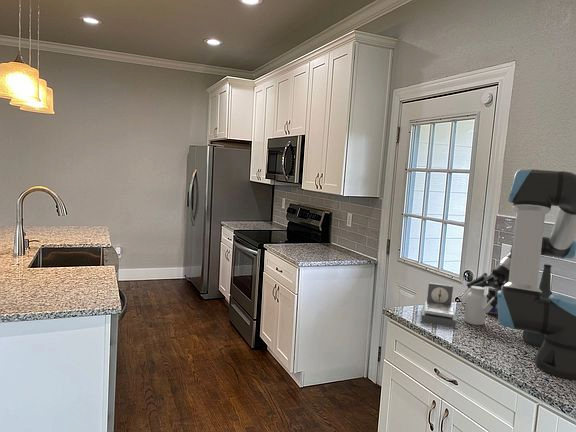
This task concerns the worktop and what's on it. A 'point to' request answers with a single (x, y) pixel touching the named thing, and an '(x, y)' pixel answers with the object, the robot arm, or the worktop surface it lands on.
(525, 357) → the worktop surface
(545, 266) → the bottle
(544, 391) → the worktop surface
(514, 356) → the worktop surface
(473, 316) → the pill bottle
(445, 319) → the scale
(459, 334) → the worktop surface
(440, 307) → the gray flat rectangular slab
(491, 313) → the pill bottle
